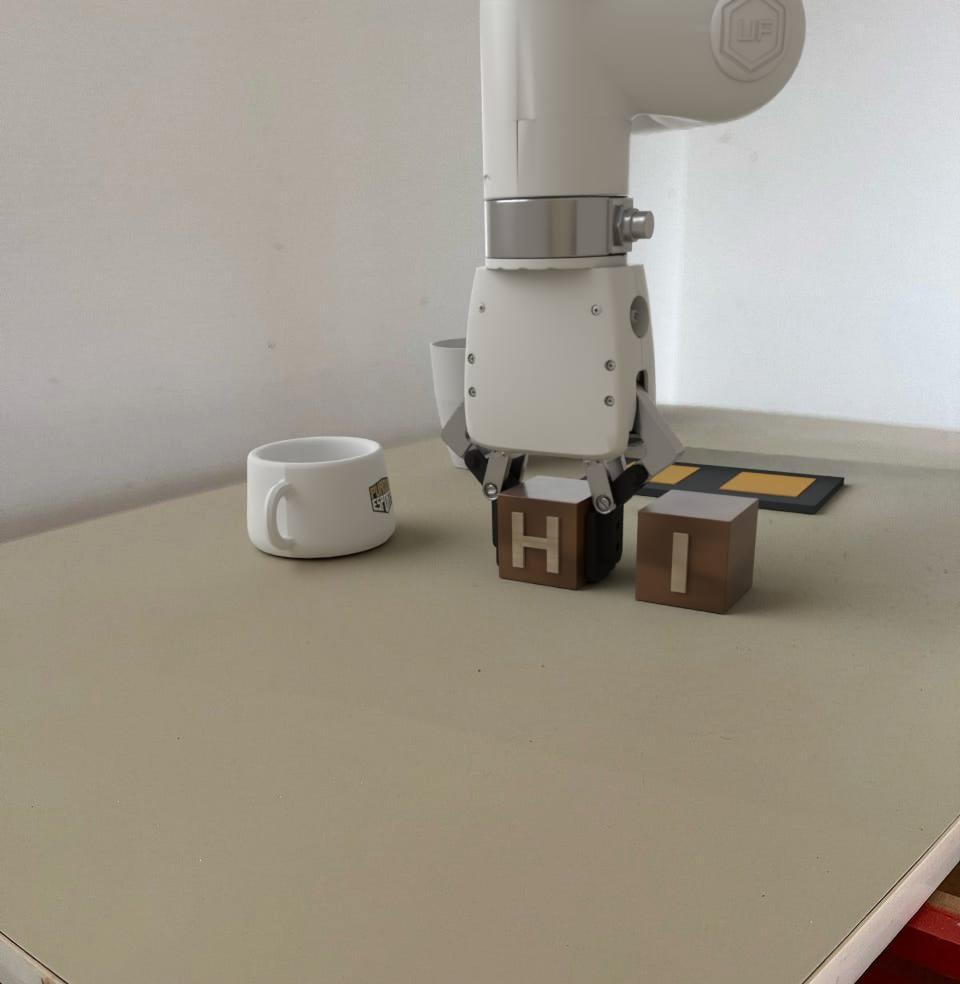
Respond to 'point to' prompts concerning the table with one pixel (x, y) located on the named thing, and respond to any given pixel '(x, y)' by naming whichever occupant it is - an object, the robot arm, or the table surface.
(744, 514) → the block
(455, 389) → the cup
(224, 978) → the table surface
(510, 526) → the letter h block
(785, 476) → the word mat
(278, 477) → the mug
